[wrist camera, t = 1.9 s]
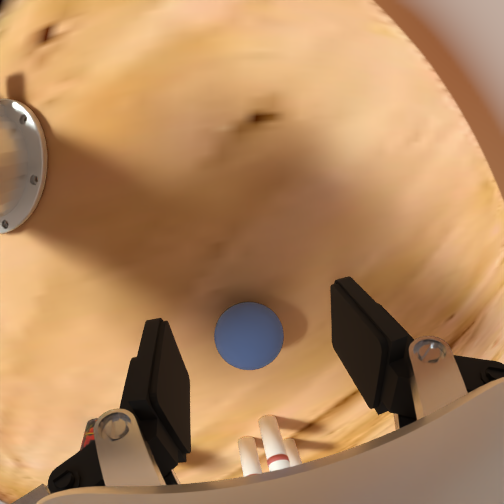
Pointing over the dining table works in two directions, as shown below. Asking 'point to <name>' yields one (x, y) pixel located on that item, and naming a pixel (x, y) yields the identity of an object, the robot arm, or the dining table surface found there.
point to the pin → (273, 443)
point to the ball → (248, 336)
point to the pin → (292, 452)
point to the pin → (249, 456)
